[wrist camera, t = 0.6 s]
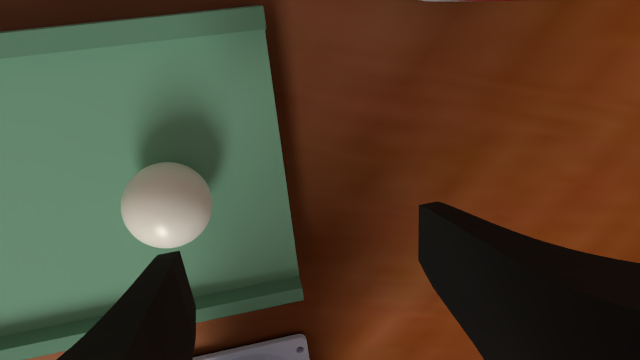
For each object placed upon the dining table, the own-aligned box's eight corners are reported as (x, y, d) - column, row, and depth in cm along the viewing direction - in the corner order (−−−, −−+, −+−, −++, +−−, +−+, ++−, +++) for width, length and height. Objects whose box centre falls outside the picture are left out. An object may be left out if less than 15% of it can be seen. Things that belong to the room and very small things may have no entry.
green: (295, 265, 23) (304, 300, 21) (-180, 360, 20) (-243, 416, 17) (258, 5, 18) (263, 5, 15) (-427, 75, 14) (-582, 93, 11)
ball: (220, 214, 19) (219, 256, 16) (144, 227, 18) (126, 274, 15) (205, 144, 17) (199, 176, 14) (120, 157, 17) (96, 192, 14)
